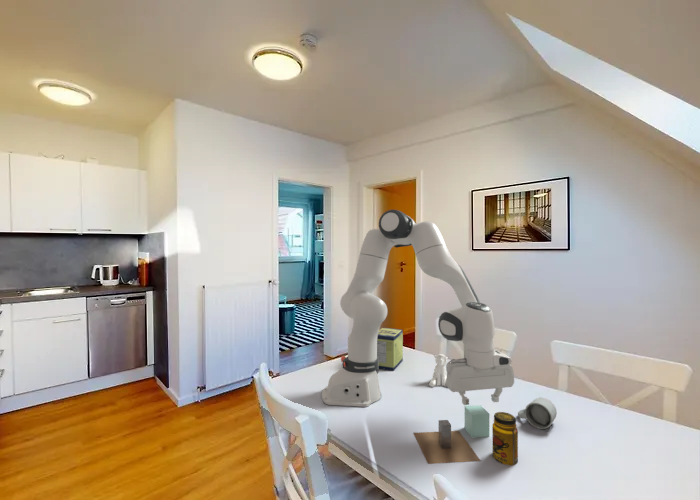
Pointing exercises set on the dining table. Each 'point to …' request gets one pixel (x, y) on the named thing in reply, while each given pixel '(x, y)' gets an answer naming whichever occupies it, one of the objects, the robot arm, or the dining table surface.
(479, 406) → the mint green upright block
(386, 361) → the protein box
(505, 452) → the condiment
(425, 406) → the dining table surface
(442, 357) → the white creature statuette
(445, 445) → the post
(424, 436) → the board
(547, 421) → the ceramic mug
